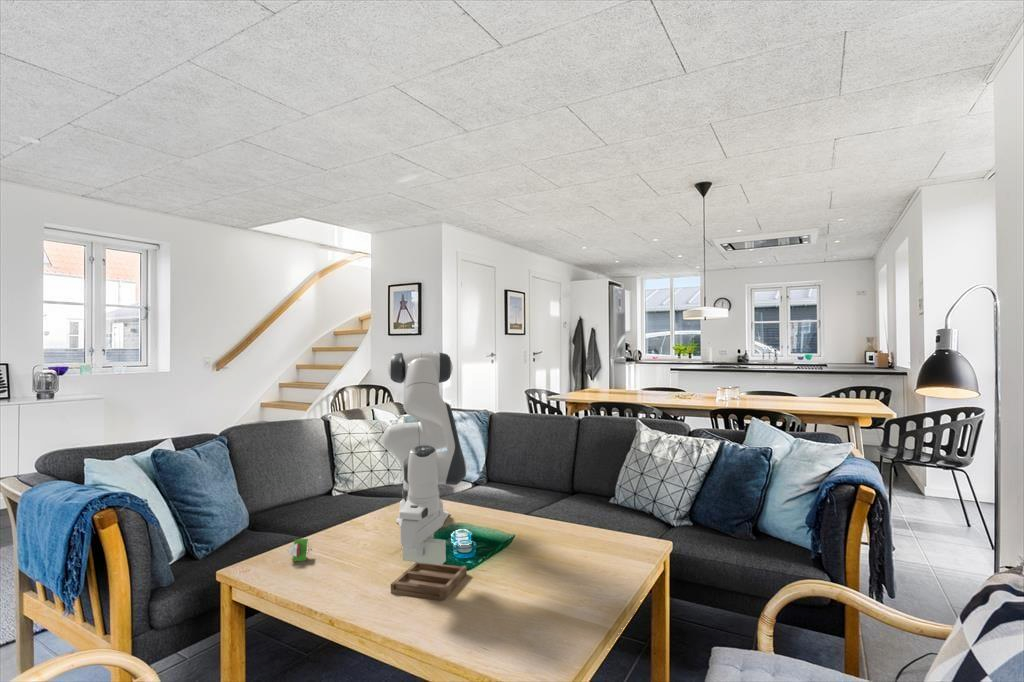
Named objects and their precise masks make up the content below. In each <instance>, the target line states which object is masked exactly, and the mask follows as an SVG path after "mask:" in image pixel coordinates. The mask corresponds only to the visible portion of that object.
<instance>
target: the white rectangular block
mask: <svg viewBox="0 0 1024 682" xmlns="http://www.w3.org/2000/svg"><path fill="white" fill-rule="evenodd" d="M446 542H447V541H446V539H441V538H433V539H432V538H427V539H426V540H424V541H423V545H422V546H423V549H425V554H424V555H423V556H422V557H419V556H417V550H416V548H414V549H407V548H403V547H402V561H405V562H413V563H416V562H419V563H427V564H435V565H442V564H444V563H446V561H447V556H446V555H447V553H446V551H447V547H446V546H447V545H446Z"/></svg>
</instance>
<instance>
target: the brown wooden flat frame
mask: <svg viewBox="0 0 1024 682" xmlns="http://www.w3.org/2000/svg"><path fill="white" fill-rule="evenodd" d="M467 569H468V568H467V565H461V566H459V565H452V564H444V563H443V564H442V565H435V564H427V563H419V562H414V564H412V565H410V567H409V568H408V569H406V570H405V571H404V572H402V574H401V575H399V576H398V577H397V578H396V579H395V580H394V581H393V582H391V583H390V594H396V595H402V596H407V597H414V598H415V597H416V598H420V599H421V598H422V599H429V600H434V601H440V602H441V601H442V602H444V600H446V598H447V597H448V596H449V595H450V594H451V593H452V591H453V590H454V589H456V587H457V586H458V584H459V583H460V582H461V581H462V580H463V579H464V578H465V577H466V575H467Z"/></svg>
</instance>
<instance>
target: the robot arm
mask: <svg viewBox="0 0 1024 682" xmlns="http://www.w3.org/2000/svg"><path fill="white" fill-rule="evenodd" d="M453 367H454V366H453V362H452V359H451V357H450V355H449V354H447V353H443V352H432V351H431V352H430V351H419V352H417V351H416V352H406V353H405V352H403V353H402V352H397V353H394V354H393V355H391V357H390V359H389V361H388V365H387V372H388V375H389V378H390V380H391V381H392V382H394V383H397V384H403V407H402V408H403V410H404V412H405V413H406V414H407V415H408V416H409V417H411V418H414V419H416V420H418V421H415V422H414V421H413V422H400V423H395V424H392V425H388V426H387V427H386V428H385V430H384V431H383V435H382V443H383V446H384V447H385V449H386V451H388V452H390V453H391V454H392V455H393V456H395V458H397V460H398V462H399V464H400V465H401V471H402V479H403V481H402V482H403V487H402V490H401V494H402V495H401V497H402V499H401V500H400V502H399V510H398V511H399V512H398V518H396V519H395V523H397V524H398V525H399V527H400V544H401V547H402V549H403V548H407V549H414V548H416V550H417V556H419V557H422V556H423V555H424V554H425V549H423V546H422V545H423V541H424V540H426V539H427V538H432V539H434V535H435V533H436V532H437V531H438V530H440V529H441V528H442V527H443V526H444V523H445V521H446V520H447V518H448V517H449V515H450V512H449V511H447V510H445V509H444V502H443V500H442V499H441V498H440V490H439V485H446V486H447V485H448V486H450V485H451V486H457V485H458V484H460V483H461V482H462V481H463V480H464V479H465V478H466V476H467V461H466V459H465V456H464V453H463V450H462V446H461V443H460V438H459V434H458V428H457V425H456V421H455V418H454V414H453V410H452V407H451V406H450V404H449V403H448V402H446V401H444V399H443V398H442V396H441V394H440V383H445V382H447V381H449V380H450V379H451V376H452V373H453ZM444 448H447V450H445V451H437V450H441V449H444Z"/></svg>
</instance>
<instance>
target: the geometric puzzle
mask: <svg viewBox="0 0 1024 682" xmlns="http://www.w3.org/2000/svg"><path fill="white" fill-rule="evenodd" d="M308 541H309V539H308V538H301V539H300V538H298V539H294V541H293V542H292V545H291V546H290V547H289V548H288V550H287V552H288V553H289V556H292V558H291V561H292V562H303V561H305V562H306V561H307V558H308V557H309V553H311V551H312V550H313V548H311V547H310V546H309V545H311V543H310V542H308ZM307 547H308V548H307Z"/></svg>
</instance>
